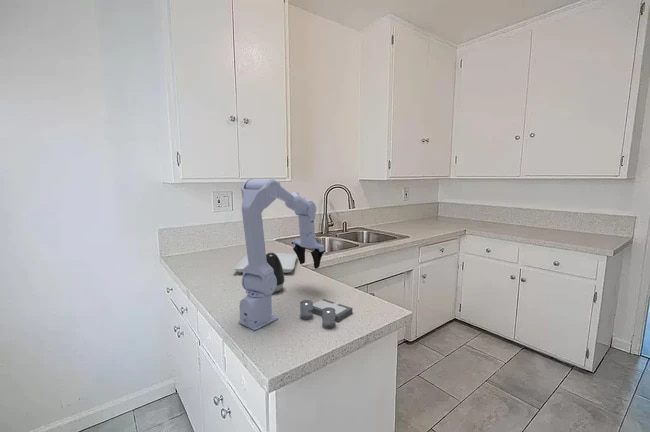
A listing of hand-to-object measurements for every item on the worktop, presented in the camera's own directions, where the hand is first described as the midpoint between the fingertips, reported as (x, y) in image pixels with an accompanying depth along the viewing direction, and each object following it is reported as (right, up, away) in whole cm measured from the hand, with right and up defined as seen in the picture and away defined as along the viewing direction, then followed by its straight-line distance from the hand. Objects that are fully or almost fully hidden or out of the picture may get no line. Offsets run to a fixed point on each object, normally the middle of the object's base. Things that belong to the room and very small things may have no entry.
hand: (309, 265), depth 121 cm
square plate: (-22, -6, +32) cm, 40 cm away
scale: (+8, -13, -17) cm, 23 cm away
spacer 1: (0, -13, -21) cm, 25 cm away
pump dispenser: (-15, -10, +2) cm, 18 cm away
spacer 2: (+7, -14, -26) cm, 31 cm away
